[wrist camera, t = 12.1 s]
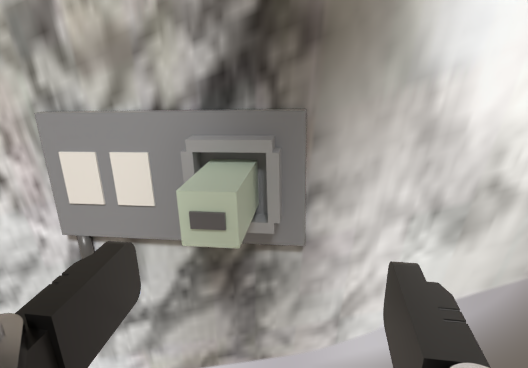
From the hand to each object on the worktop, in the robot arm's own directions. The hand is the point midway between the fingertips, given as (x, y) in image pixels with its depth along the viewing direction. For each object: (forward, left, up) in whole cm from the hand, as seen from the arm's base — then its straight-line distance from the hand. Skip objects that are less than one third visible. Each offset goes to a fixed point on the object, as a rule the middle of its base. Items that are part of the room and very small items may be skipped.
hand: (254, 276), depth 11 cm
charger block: (+3, -5, -19) cm, 20 cm away
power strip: (+5, -11, -20) cm, 24 cm away
